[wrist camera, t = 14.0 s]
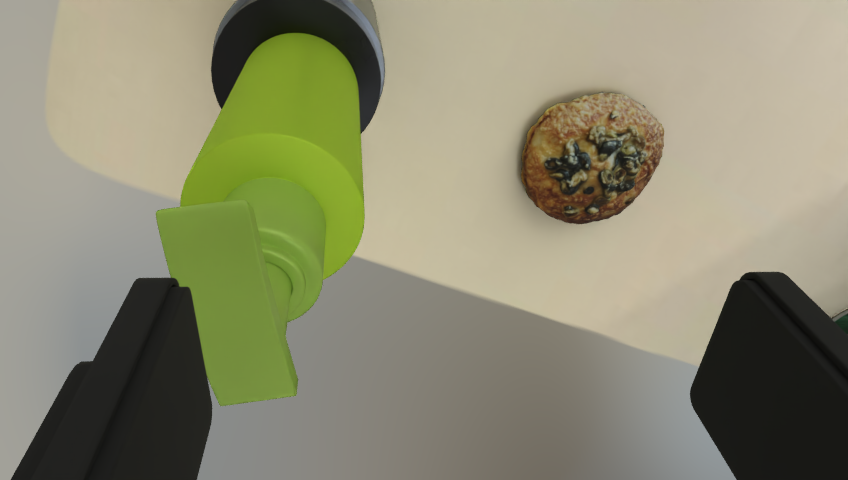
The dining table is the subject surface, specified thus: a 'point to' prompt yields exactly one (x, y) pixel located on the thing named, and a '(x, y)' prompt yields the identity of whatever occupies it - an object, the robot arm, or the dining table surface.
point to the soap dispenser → (269, 211)
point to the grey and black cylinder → (311, 14)
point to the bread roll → (591, 157)
